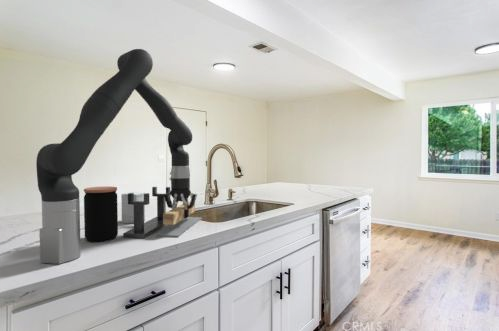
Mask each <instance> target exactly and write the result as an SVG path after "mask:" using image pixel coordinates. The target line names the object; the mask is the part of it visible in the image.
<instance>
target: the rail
mask: <svg viewBox="0 0 499 331" xmlns="http://www.w3.org/2000/svg"><path fill="white" fill-rule="evenodd" d="M188 202H189V203H188V204H189V205H190V202H191V201H188ZM184 210H185V208H184V205H183V203H182V204H181V205H177V207H176V208H174V209H172V208H171V210H168V211H166V213H164V214H163V225H165V226H169V225H174V224H176V223H178V222H179V221H181V220H182V219H184ZM195 212H196V202H195V203H194V206H193V207H192V208H190V209H189V216H190V215H191V214H193V213H195Z"/></svg>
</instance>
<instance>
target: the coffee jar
mask: <svg viewBox="0 0 499 331" xmlns="http://www.w3.org/2000/svg"><path fill="white" fill-rule="evenodd" d="M117 191H118V187H116V186H93V187H92V186H91V187H85V188H83V192H84V196H83V217H84V222H83V224H84V238H85V240H86V241H87V242H90V243H103V242H108V241H111V240H114V239H117V236H118V235H119V224H118V223H119V222H118V221H119V220H118V219H119V218H118V216H119V215H118V214H119V213H118V193H117Z"/></svg>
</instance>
